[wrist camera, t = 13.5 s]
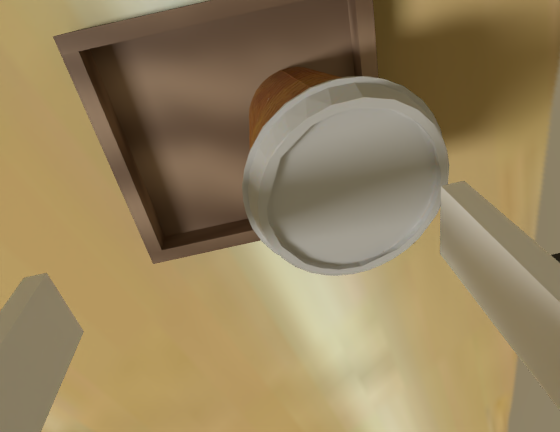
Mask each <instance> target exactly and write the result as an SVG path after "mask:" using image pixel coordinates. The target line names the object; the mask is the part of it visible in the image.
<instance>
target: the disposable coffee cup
mask: <svg viewBox="0 0 560 432" xmlns="http://www.w3.org/2000/svg"><path fill="white" fill-rule="evenodd" d="M249 143H250V144H249V146H250V152H249V155H248V158H247V161H246V165H245V168H244V175H243V183H242V192H243V202H244V206H245V211H246V214H247V217H248V219H249V222H250V224H251V227H252V229H253V230H254V231H255V233H256V234H257V235H258V237H259V238H260V240H261V241H262V242H263V243H264V244H265V245H266V246H267V247H269V248H270V249H271V250H272V251H273V252H274V253H276V254H278V255H280V256H281V257H282V258H283V259H284V260H286V261H287V262H289V263H291V264H292V265H294V266H295V267H297V268H300V269H303V270H305V271H308V272H311V273H316V274H321V275H333V276H338V275H348V274H355V273H359V272H363V271H367V270H370V269H373V268H375V267H377V266H380V265H382V264H384V263H386V262H388V261H390V260H392V259H394V258H395V257H396V256H398V255H399V254H401V253H402V252H404V251H405V250H406V249H408V248H409V247H410V246H411V245H412V244H413V243H414V242H415V241H416V240H418V239H419V237H420V236H421V235H422V234H423V232H424V231H425V230H426V228H427V227H428V226H429V224H430V223H431V222H432V220H433V219H434V218H435V216H436V215H437V213H438V210H439V208H440V206H441V186H443V185H447V184H448V174H449V161H448V154H447V149H446V146H445V143H444V140H443V138H442V134H441V129H440V127H439V125H438V123H437V121H436V118H435V116H434V114H433V113H432V112H431V110H430V109H429V108H428V106H427V105H426V104H425V103H424V101H423V100H422V99H421V98H419V97H418V96H416V95H415V94H414V93H412V92H411V91H410V90H408V89H407V88H405V87H404V86H402V85H399V84H396V83H394V82H391V81H388V80H385V79H381V78H375V77H370V76H354V77H343V78H342V77H338V76H335V75H331V74H327V73H323V72H319V71H316V70H312V69H309V68H305V67H291V68H286V69H282V70H279V71H278V72H276V73H274V74H272V75H271V76H269V77H268V78H267V79H266V80H265V81H263V82H262V84H261V85H260V86H259V88H258V89H257V90H256V92H255V94H254V96H253V99H252V101H251V104H250V108H249Z"/></svg>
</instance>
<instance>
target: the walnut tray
mask: <svg viewBox="0 0 560 432" xmlns="http://www.w3.org/2000/svg"><path fill="white" fill-rule="evenodd" d="M53 38H54V40H55V42H56V44H57V47H58V49H59V51H60V54H61V56H62V58H63V60H64V63H65V65H66V67H67V69H68V72H69V74H70V76H71V78H72V81H73V83H74V85H75V88H76V90H77V92H78V94H79V97H80V99H81V101H82V103H83V106H84V108H85V110H86V112H87V115H88V117H89V119H90V122H91V124H92V126H93V128H94V131H95V133H96V135H97V137H98V140H99V142H100V144H101V146H102V149H103V151H104V153H105V156H106V158H107V160H108V162H109V165H110V167H111V169H112V171H113V174H114V176H115V178H116V181H117V183H118V185H119V187H120V190H121V192H122V194H123V196H124V199H125V201H126V203H127V205H128V208H129V210H130V212H131V215H132V217H133V219H134V221H135V224H136V226H137V228H138V230H139V233H140V235H141V237H142V239H143V242H144V244H145V246H146V249H147V251H148V253H149V255H150V258H151V260H152V262H153V264H155V263H160V262H164V261H169V260H173V259H178V258H182V257H187V256H191V255H196V254H201V253H205V252H210V251H214V250H219V249H223V248H228V247H232V246H237V245H241V244H246V243H250V242H255V241H260V238H259V237H258V235H257V234H256V233H255V231H254V230H253V229H252V227H251V224H250V222H249V219H248V217H247V214H246V211H245V206H244V202H243V192H242V183H243V175H244V168H245V165H246V161H247V158H248V155H249V152H250V146H249V144H250V143H249V108H250V104H251V101H252V99H253V96H254V94H255V92H256V90H257V89H258V88H259V86H260V85H261V84H262V82H263V81H265V80H266V79H267V78H268V77H269V76H271V75H272V74H274V73H276V72H278V71H279V70H282V69H286V68H291V67H305V68H309V69H312V70H316V71H319V72H323V73H327V74H331V75H335V76H338V77H342V78H343V77H354V76H370V77H375V78H378V66H377V52H376V38H375V24H374V10H373V0H210V1H206V2H201V3H197V4H192V5H188V6H184V7H179V8H175V9H170V10H166V11H162V12H157V13H153V14H148V15H144V16H140V17H135V18H131V19H126V20H122V21H118V22H113V23H109V24H104V25H100V26H96V27H91V28H87V29H82V30H78V31H74V32H69V33H65V34H61V35H57V36H53Z"/></svg>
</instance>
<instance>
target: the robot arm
mask: <svg viewBox="0 0 560 432" xmlns="http://www.w3.org/2000/svg"><path fill="white" fill-rule="evenodd" d="M440 254H441V256H442V257H443V258H444V259H445V261H446V262H447V263H448V265H449V266H450V267H451V269H452V270H453V271H454V273H455V274H456V275H457V277H458V278H459V279H460V280H461V282H462V283H463V284H464V286H465V287H466V288H467V290H468V291H469V292H470V294H471V295H472V296H473V298H474V299H475V300H476V301H477V303H478V304H479V305H480V307H481V308H482V309H483V311H484V312H485V313H486V315H487V316H488V317H489V319H490V320H491V321H492V322H493V324H494V325H495V326H496V328H497V329H498V330H499V332H500V333H501V334H502V336H503V337H504V338H505V340H506V341H507V342H508V343H509V345H510V346H511V347H512V349H513V350H514V351H515V353H516V354H517V355H518V357H519V358H520V359H521V360H522V362H523V363H524V364H525V366H526V367H527V368H528V370H529V371H530V372H531V374H532V375H533V376H534V378H535V379H536V380H537V381H538V383H539V384H540V385H541V386H542V388H543V389H544V391H545V392H546V393H547V394H548V396H549V397H550V399H551V400H552V401H553V402H554V404H555V405H556V406H557V408H558V409H559V410H560V253H558V254H554V255H550V254H549V253H548V252H546V251H545V250H544V249H543V248H542V247H541V246H539V245H538V244H537V243H536V242H535V241H534V240H532V239H531V238H530V237H529V236H528V235H527V234H526V233H524V232H523V231H522V230H521V229H520V228H519V227H517V226H516V225H515V224H514V223H513V222H512V221H510V220H509V219H508V218H507V217H506V216H505V215H503V214H502V213H501V212H500V211H499V210H498V209H496V208H495V207H494V206H493V205H492V204H491V203H489V202H488V201H487V200H486V199H485V198H484V197H482V196H481V195H480V194H479V193H478V192H477V191H475V190H474V189H473V188H472V187H471V186H470V185H468V184H467V183H466V182H465V181H461V182H456V183H452V184H447V185H443V186H441V215H440ZM83 332H84V331H83V330H82V328H81V326H80V325H79V323H78V322H77V320H76V318H75V317H74V315H73V314H72V312H71V311H70V309H69V307H68V306H67V304H66V303H65V301H64V299H63V298H62V296H61V295H60V293H59V292H58V290H57V288H56V287H55V285H54V284H53V282H52V281H51V279H50V277H49V276H48V274H47V273H44V274H39V275H35V276H30V277H26V278H23V280H22V281H21V283H20V284H19V286H18V287H17V288H16V290H15V291H14V293H13V294H12V295H11V297H10V298H9V300H8V301H7V302H6V304H5V305H4V307H3V308H2V310H1V311H0V432H41V430H42V428H43V425H44V423H45V421H46V418H47V416H48V414H49V411H50V409H51V407H52V404H53V402H54V400H55V397H56V395H57V393H58V390H59V388H60V386H61V383H62V381H63V379H64V376H65V374H66V372H67V369H68V367H69V365H70V362H71V360H72V358H73V355H74V353H75V351H76V348H77V346H78V344H79V341H80V339H81V337H82V334H83Z"/></svg>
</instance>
